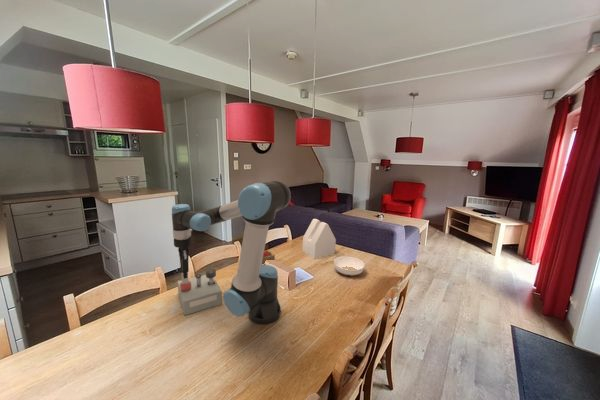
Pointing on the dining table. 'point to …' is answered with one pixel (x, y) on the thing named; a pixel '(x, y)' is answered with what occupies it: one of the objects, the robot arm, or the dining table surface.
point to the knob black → (211, 275)
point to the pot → (198, 280)
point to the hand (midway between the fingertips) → (185, 283)
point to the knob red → (185, 286)
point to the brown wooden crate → (268, 257)
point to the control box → (200, 295)
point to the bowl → (349, 265)
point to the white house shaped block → (319, 240)
